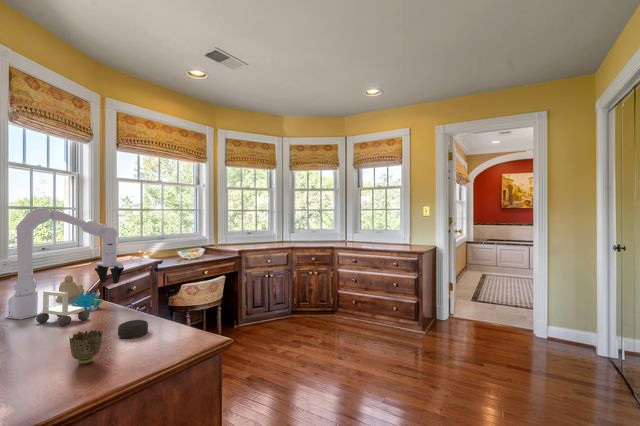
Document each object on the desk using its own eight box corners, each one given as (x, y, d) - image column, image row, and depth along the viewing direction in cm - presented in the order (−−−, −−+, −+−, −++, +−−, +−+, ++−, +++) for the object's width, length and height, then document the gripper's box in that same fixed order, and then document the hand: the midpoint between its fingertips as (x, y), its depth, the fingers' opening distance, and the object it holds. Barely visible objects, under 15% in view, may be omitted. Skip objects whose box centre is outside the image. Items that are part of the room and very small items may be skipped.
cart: (35, 323, 121) (36, 292, 121) (65, 315, 131) (65, 286, 131) (61, 327, 117) (61, 294, 117) (89, 318, 127) (90, 288, 127)
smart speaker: (113, 341, 105) (114, 328, 105) (122, 331, 113) (122, 320, 113) (144, 338, 107) (144, 326, 107) (150, 329, 116) (150, 318, 116)
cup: (80, 357, 92) (80, 329, 92) (107, 357, 93) (108, 328, 93) (61, 370, 84) (62, 339, 85) (91, 369, 85) (92, 338, 85)
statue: (44, 281, 147) (59, 271, 157) (50, 308, 151) (64, 297, 160) (73, 281, 149) (86, 271, 158) (78, 308, 153) (90, 296, 162)
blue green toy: (68, 310, 132) (74, 289, 139) (68, 318, 136) (74, 297, 142) (100, 310, 138) (104, 290, 144) (99, 318, 141) (103, 298, 148)
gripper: (129, 252, 150) (129, 281, 150) (105, 251, 155) (105, 280, 155) (115, 254, 144) (115, 285, 144) (91, 253, 148) (91, 283, 148)
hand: (109, 282), depth 149 cm, fingers open, 7 cm apart
